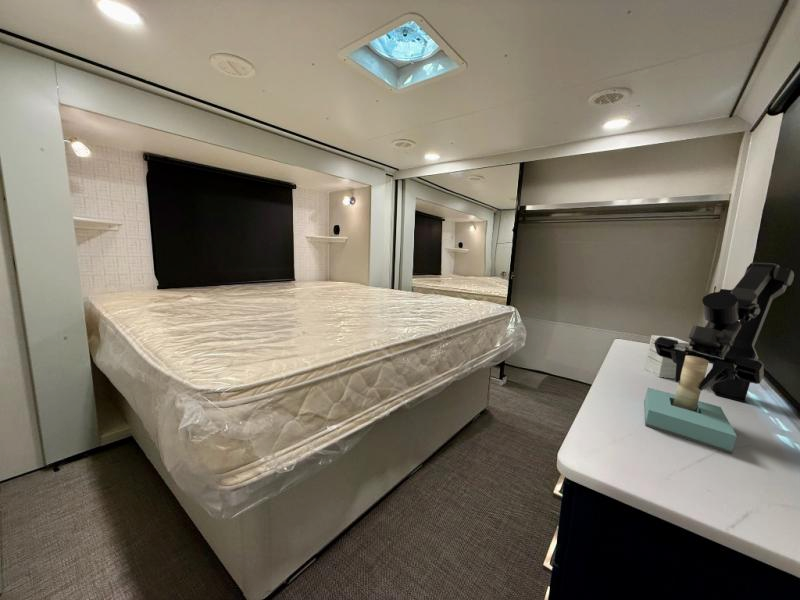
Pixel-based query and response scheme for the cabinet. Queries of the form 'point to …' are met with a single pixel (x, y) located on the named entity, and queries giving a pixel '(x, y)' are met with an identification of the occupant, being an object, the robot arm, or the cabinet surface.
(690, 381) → the maple pin
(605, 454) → the cabinet surface
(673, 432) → the pin block
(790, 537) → the cabinet surface
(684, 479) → the cabinet surface
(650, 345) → the supplement box
